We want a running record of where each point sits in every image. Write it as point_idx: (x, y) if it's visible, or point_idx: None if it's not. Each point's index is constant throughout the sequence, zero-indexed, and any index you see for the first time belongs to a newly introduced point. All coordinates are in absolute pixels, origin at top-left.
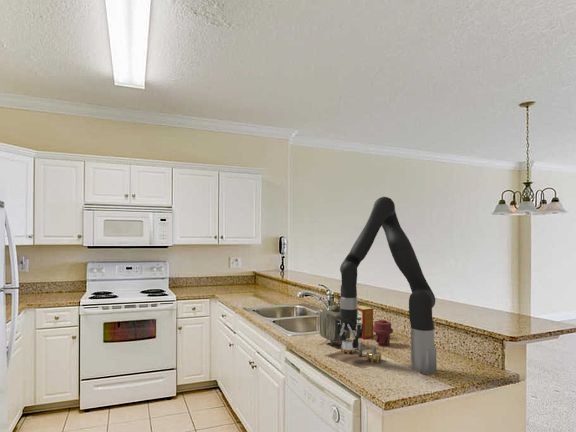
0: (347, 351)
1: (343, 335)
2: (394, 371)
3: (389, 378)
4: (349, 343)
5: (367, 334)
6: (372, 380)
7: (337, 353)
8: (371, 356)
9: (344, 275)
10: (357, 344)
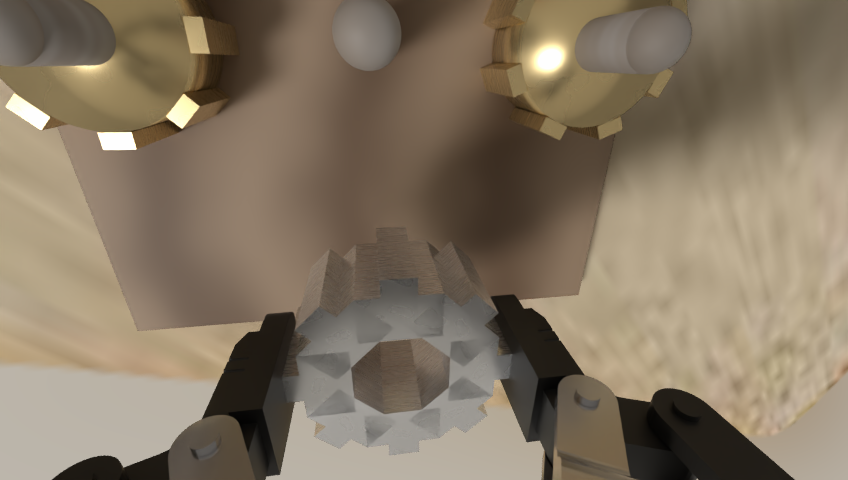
0: (204, 118)
1: (258, 457)
2: (763, 100)
3: (756, 245)
4: (470, 419)
5: None
6: (678, 340)
7: (134, 188)
8: (596, 135)
9: None
10: (545, 336)
